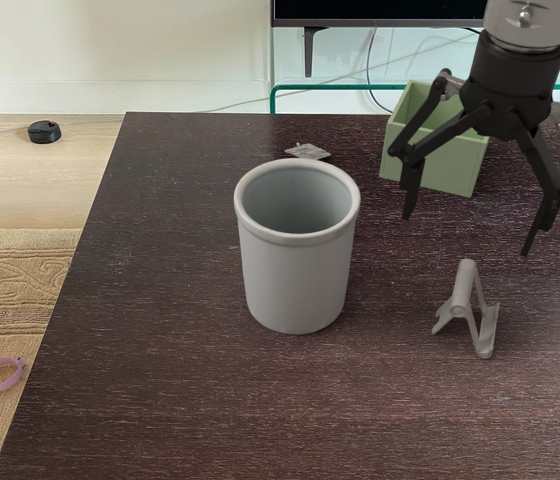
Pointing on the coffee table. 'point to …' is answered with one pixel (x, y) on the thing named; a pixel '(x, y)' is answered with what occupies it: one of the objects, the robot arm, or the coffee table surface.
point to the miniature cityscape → (310, 154)
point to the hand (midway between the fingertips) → (465, 230)
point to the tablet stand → (462, 309)
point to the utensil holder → (296, 242)
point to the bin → (446, 159)
